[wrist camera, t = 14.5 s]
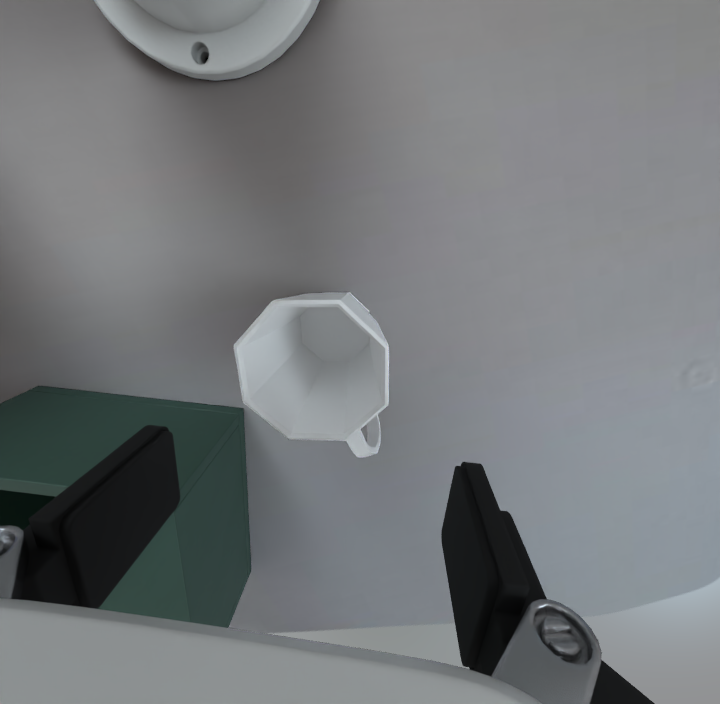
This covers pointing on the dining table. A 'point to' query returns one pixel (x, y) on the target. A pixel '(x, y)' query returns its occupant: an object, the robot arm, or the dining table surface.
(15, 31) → the dining table surface
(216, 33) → the robot arm
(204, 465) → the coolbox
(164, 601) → the cool box lid
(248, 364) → the cup
